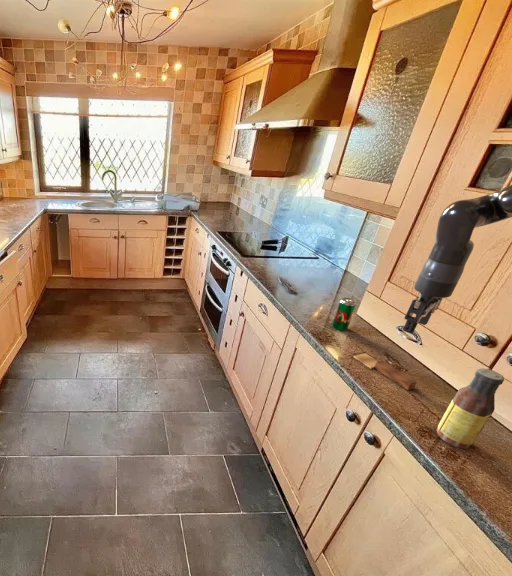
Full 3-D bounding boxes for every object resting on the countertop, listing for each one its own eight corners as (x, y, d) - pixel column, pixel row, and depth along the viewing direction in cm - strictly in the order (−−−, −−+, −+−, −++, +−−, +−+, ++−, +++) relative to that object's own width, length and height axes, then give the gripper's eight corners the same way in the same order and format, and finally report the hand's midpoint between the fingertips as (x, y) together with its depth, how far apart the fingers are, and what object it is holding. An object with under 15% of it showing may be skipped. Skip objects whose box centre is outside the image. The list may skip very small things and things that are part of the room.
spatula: (416, 387, 90) (420, 380, 88) (404, 391, 88) (407, 384, 87) (364, 354, 103) (367, 348, 102) (353, 357, 102) (355, 351, 101)
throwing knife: (288, 293, 143) (288, 292, 143) (273, 275, 161) (273, 274, 161) (297, 293, 143) (298, 292, 143) (281, 276, 161) (282, 275, 161)
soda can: (342, 324, 120) (352, 297, 114) (350, 331, 115) (360, 303, 110) (329, 323, 120) (338, 296, 115) (335, 331, 116) (345, 303, 110)
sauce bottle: (476, 453, 71) (524, 389, 62) (442, 445, 73) (484, 382, 64) (459, 430, 77) (501, 368, 68) (428, 423, 78) (465, 362, 70)
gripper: (446, 287, 75) (419, 342, 82) (468, 275, 81) (441, 326, 88) (409, 277, 81) (387, 328, 88) (432, 266, 87) (410, 315, 94)
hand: (414, 327), depth 88 cm, fingers open, 8 cm apart
